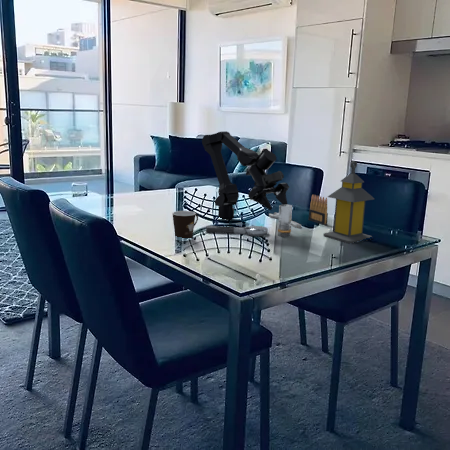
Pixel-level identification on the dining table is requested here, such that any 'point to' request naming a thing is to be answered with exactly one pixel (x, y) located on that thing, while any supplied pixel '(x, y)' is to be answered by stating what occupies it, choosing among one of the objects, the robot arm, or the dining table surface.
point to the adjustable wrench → (294, 224)
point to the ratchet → (239, 230)
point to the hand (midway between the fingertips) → (279, 208)
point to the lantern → (349, 209)
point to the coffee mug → (184, 223)
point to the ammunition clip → (318, 210)
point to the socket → (284, 220)
